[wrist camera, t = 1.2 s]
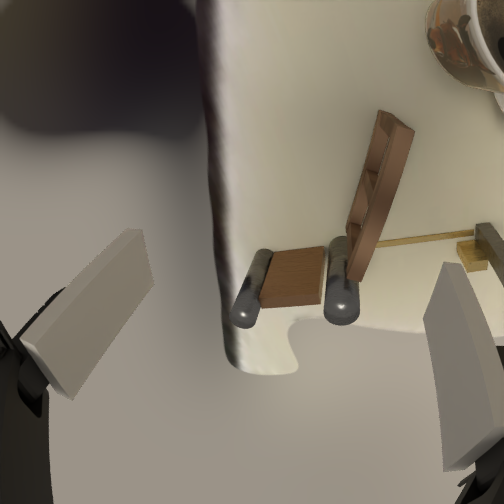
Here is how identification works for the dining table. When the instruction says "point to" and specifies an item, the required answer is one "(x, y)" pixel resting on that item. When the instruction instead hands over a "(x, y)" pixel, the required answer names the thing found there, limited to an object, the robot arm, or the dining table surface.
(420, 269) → the dining table surface
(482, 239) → the block
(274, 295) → the fence
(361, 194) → the gate
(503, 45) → the mug
